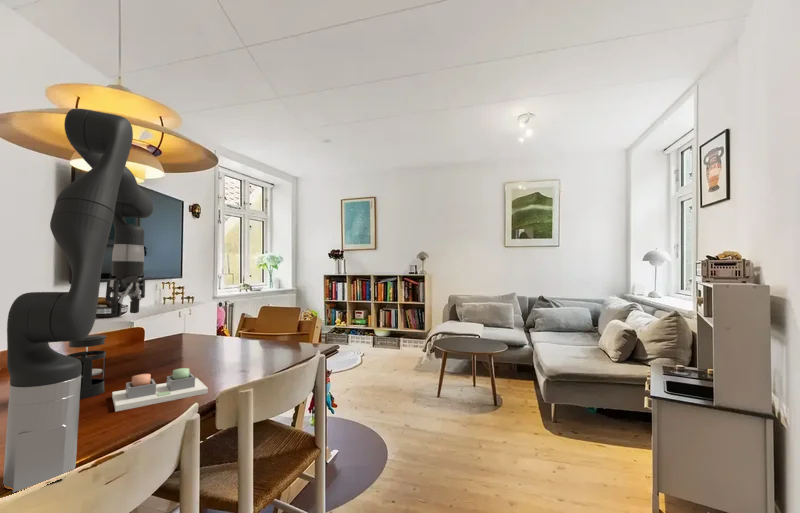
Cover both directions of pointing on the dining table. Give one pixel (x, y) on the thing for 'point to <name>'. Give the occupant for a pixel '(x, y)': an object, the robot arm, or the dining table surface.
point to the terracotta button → (141, 380)
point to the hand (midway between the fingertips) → (125, 314)
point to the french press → (90, 365)
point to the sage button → (180, 373)
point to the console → (157, 392)
